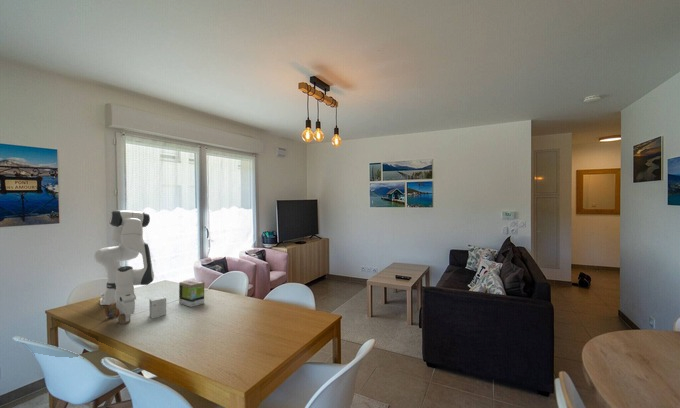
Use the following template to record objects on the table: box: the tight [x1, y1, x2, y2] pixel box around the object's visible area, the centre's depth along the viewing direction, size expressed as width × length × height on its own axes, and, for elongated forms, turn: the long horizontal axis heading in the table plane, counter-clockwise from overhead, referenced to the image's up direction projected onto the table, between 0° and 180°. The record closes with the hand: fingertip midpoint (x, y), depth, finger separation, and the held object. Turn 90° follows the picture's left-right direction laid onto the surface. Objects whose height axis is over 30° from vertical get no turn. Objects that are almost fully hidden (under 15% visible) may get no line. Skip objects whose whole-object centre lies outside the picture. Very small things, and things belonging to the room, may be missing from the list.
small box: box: [149, 295, 167, 319], centre depth 176 cm, size 8×6×10 cm
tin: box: [104, 302, 120, 319], centre depth 177 cm, size 15×3×8 cm, turn 168°
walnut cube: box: [118, 313, 131, 325], centre depth 166 cm, size 4×4×4 cm
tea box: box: [178, 279, 205, 308], centre depth 198 cm, size 15×10×15 cm, turn 58°
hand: (124, 318), depth 166 cm, fingers open, 8 cm apart
